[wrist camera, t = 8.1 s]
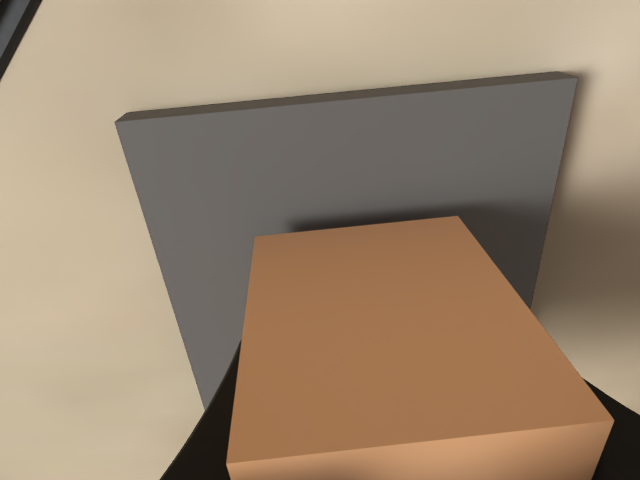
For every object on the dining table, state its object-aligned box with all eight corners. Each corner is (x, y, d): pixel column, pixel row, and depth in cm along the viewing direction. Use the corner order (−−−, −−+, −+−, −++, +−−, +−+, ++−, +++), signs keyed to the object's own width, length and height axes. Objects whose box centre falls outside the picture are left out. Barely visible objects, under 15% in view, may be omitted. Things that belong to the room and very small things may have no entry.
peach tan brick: (444, 363, 15) (544, 596, 9) (280, 380, 15) (277, 629, 9) (458, 215, 12) (614, 419, 6) (254, 236, 12) (226, 464, 6)
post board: (501, 375, 18) (588, 529, 13) (214, 406, 18) (184, 576, 13) (557, 71, 12) (758, 131, 7) (126, 112, 12) (4, 205, 7)
